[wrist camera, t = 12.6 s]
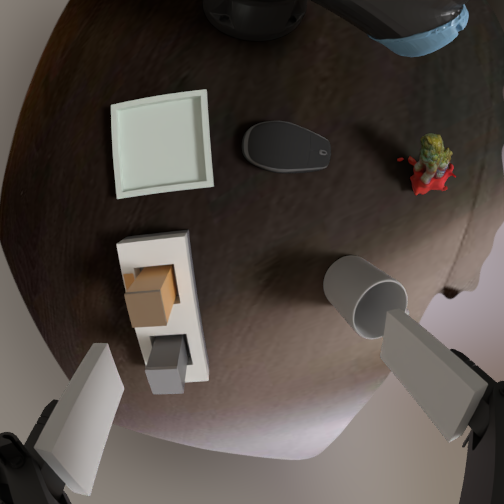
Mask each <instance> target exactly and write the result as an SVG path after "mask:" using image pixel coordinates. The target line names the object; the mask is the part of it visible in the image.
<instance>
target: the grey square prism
mask: <svg viewBox="0 0 504 504" xmlns="http://www.w3.org/2000/svg"><path fill="white" fill-rule="evenodd" d="M188 354H189V351H188V346H187V342H186V337H185V334H175V335H159V336H156V338H155V341H154V344H153V347H152V350H151V353H150V356H149V359H148V362H147V365H146V368H145V372H146V375H147V378H148V381H149V384H150V387H151V390H152V392H153V394H180V393H184V385H185V377H186V369H187V361H188Z"/></svg>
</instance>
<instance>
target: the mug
mask: <svg viewBox="0 0 504 504" xmlns="http://www.w3.org/2000/svg"><path fill="white" fill-rule="evenodd" d="M323 289H324V293H325V296H326V298H327V299H328V300H329V302H330V303H331V304H332V305H333V306H334V307H335V308H336V309H337V311H338V312H339V313H340V314H341V315H342V317H343V318H344V319H345V320H346V321H347V323H348V324H349V325H350V326H351V327H352V329H353V330H354V331H355V332H356V333H357V334H358V335H359V336H361V337H363V338H366V339H378V338H381V337H383V336H384V329H385V322H386V314H387V311H389V310H394V309H398V308H400V309H401V310H402V311H404V312H405V313H406V314H407V315H409V310H408V309H407V302H408V299H407V293H406V290H405V288H404V287H403V285H402V284H401V283H399V282H398V281H397V280H395V279H394V278H392V277H391V276H389V275H388V274H386V273H385V272H383V271H382V270H380V269H378V268H377V267H375V266H374V265H372V264H371V263H369V262H368V261H366V260H365V259H363V258H361V257H359V256H354V255H350V256H344V257H342V258H340V259H338V260H337V261H335V262H334V263H333V264H332V265H331V266H330V267H329V269H328V270H327V272H326V274H325V277H324V282H323Z"/></svg>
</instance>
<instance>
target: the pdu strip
mask: <svg viewBox="0 0 504 504" xmlns="http://www.w3.org/2000/svg"><path fill="white" fill-rule="evenodd" d="M116 245H117V251H118V256H119V262H120V267H121V272H122V277H123V281H124V286H125V290H126V291H127V290H128V289H129V287H130V286H131V284H132V283H133V282H134V280H135V279H136V278H137V276H138V275H139V274H140V272H141V271H142V270H143V268H144V267H150V266H160V265H170V264H173V269H174V275H175V282H176V287H177V294H176V297H175V301H174V304H173V307H172V310H171V313H170V316H169V319H168V323H167V326H155V327H136V328H135V331H136V334H137V338H138V341H139V345H140V348H141V352H142V355H143V358H144V361H145V365H147V362H148V359H149V356H150V353H151V350H152V347H153V344H154V341H155V338H156V336H159V335H175V334H185V337H186V342H187V346H188V351H189V354H188V361H187V369H186V377H185V382H199V381H209V361H208V356H207V350H206V345H205V339H204V333H203V327H202V322H201V316H200V309H199V303H198V297H197V290H196V283H195V276H194V269H193V262H192V254H191V247H190V239H189V230H181V231H172V232H163V233H154V234H146V235H137V236H129V237H126V238H124V239H123V240H121V241H120V242H119V243H117V244H116Z"/></svg>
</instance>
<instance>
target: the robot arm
mask: <svg viewBox="0 0 504 504" xmlns="http://www.w3.org/2000/svg"><path fill="white" fill-rule="evenodd" d="M202 1H203V10H204V13H205V16H206V17H207V19H208V20H209V22H210V23H211V24H212V25H213V26H214V27H215V28H217V29H218V30H220V31H221V32H223V33H225V34H227V35H229V36H232V37H235V38H238V39H242V40H249V41H267V40H273V39H277V38H280V37H282V36H285V35H287V34H288V33H290V32H291V31H293V30H294V29H295V28H296V27H297V26H298V25H299V23H300V22H301V20H302V18H303V16H304V15H305V12H306V8H307V0H202ZM311 1H313V2H315V3H317V4H319V5H321V6H322V7H324V8H326V9H328V10H330V11H331V12H333V13H335V14H336V15H338V16H340V17H341V18H343V19H345V20H346V21H348V22H349V23H351V24H353V25H354V26H356V27H357V28H359V29H360V30H362V31H363V32H365V33H366V34H367V35H368V37H370V38H371V39H373V40H375V41H378V42H380V43H381V44H383V45H384V46H386V47H387V48H389V49H390V50H392V51H393V52H394V53H396V54H398V55H401V56H408V57H418V56H423V55H426V54H429V53H432V52H434V51H436V50H438V49H440V48H442V47H443V46H445V45H447V44H448V43H450V42H451V41H452V40H453V39H455V38H456V37H457V36H458V31H460V30H463V29H464V28H465V26H466V24H467V22H468V17H469V15H468V11H467V9H466V6H465V5H464V4H465V3H466V2H467V1H469V0H311ZM380 358H381V359H382V360H383V361H384V363H385V364H386V365H387V366H388V368H389V369H390V370H391V371H392V372H393V374H394V375H395V376H396V377H397V378H398V380H399V381H400V382H401V383H402V385H403V386H404V387H405V388H406V389H407V391H408V392H409V393H410V394H411V396H412V397H413V398H414V399H415V400H416V402H417V403H418V404H419V406H420V407H421V408H422V409H423V411H424V412H425V413H426V414H427V416H428V417H429V418H430V419H431V421H432V422H433V423H434V425H435V426H436V427H437V428H438V430H439V431H440V432H441V434H442V435H443V436H444V437H445V439H446V440H447V441H448V443H449V442H451V441H453V440H454V439H456V438H458V437H460V436H461V435H462V434H463V433H464V431H465V429H466V428H467V426H468V425H469V426H470V427H471V429H472V430H471V431H470V433H469V435H468V436H467V438H466V440H465V441H464V443H463V446H462V447H465V445H466V444H467V442H468V441H469V443H468V452H467V462H466V468H465V475H464V482H463V487H462V492H461V497H460V502H459V504H504V381H500V382H498V383H497V382H495V381H494V380H493V379H492V378H491V377H490V376H489V375H487V374H486V373H485V372H484V371H483V370H482V369H480V368H479V367H478V366H476V365H475V363H474V362H472V361H470V359H469V358H468V357H466V356H465V355H464V354H463V353H461V352H459V351H457V350H455V349H450V350H449V349H448V348H447V347H446V346H445V345H443V344H442V343H441V342H440V341H439V340H438V339H436V338H435V337H434V336H433V335H432V334H430V333H429V332H428V331H427V330H426V329H424V328H423V327H422V326H421V325H420V324H418V323H417V322H416V321H415V320H413V319H412V318H411V317H410V316H409V315H407V314H406V313H405V312H404V311H402V310H401V309H400V308H398V309H394V310H389V311H387V314H386V322H385V329H384V336H383V342H382V348H381V354H380ZM123 391H124V386H123V384H122V381H121V379H120V376H119V374H118V371H117V368H116V366H115V363H114V360H113V357H112V355H111V352H110V349H109V346H108V343H93V345H92V346H91V348H90V350H89V351H88V353H87V354H86V356H85V358H84V359H83V361H82V362H81V364H80V366H79V367H78V369H77V370H76V372H75V374H74V375H73V377H72V379H71V380H70V382H69V384H68V386H67V387H66V389H65V391H64V392H63V394H62V396H61V398H60V399H59V400H53V401H51V402H50V403H49V404H48V405H47V406H46V407H45V409H44V410H43V412H42V414H41V417H39V419H38V421H37V424H35V426H34V428H33V430H32V431H31V433H30V435H29V437H28V439H27V441H26V443H25V445H23V444H22V443H21V441H20V440H19V439H18V438H17V436H16V435H14V434H13V433H10V432H4V433H1V434H0V504H71V502H70V500H69V498H68V496H67V494H66V493H65V492H64V491H63V489H64V486H65V484H66V485H67V486H68V487H69V489H71V491H72V492H75V493H79V494H83V495H87V496H90V494H91V491H92V487H93V483H94V480H95V476H96V473H97V469H98V466H99V463H100V459H101V456H102V453H103V450H104V446H105V443H106V440H107V437H108V434H109V431H110V428H111V425H112V422H113V419H114V416H115V413H116V410H117V408H118V405H119V402H120V399H121V396H122V393H123Z"/></svg>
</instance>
